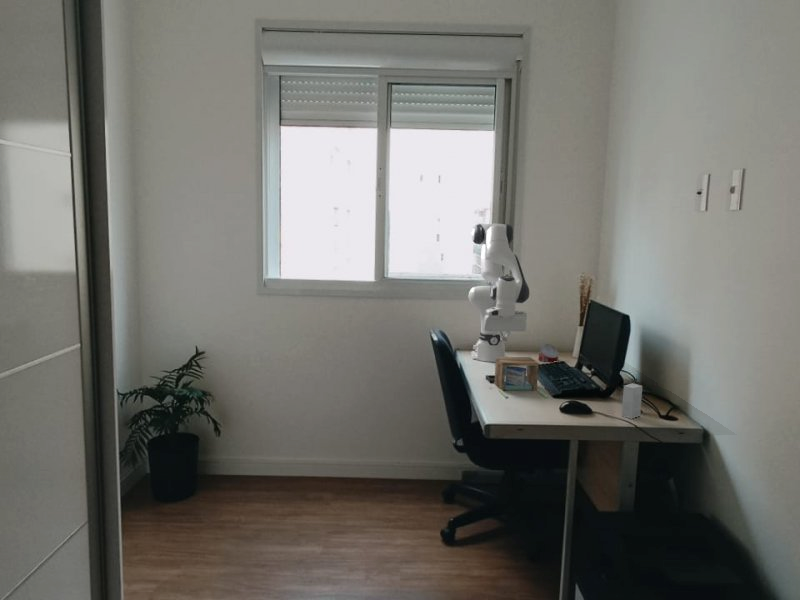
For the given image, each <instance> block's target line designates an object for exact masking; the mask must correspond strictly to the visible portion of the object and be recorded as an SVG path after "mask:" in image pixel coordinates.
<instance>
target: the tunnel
mask: <svg viewBox="0 0 800 600" xmlns="http://www.w3.org/2000/svg"><path fill="white" fill-rule="evenodd" d="M505 366H515V367H523V366H525V367H526V368H527V369H526V376H527V379H526V381H527V382H528V383H529V384H530V385H532V390H533V391H537V389H538V378H539V377H538V376H539V362H538V361H537V360H535V359H534V358H532V357H531V356H529V357H527V356H526V357H525V356H522V357H521V356H510V357H509V356H506V357H496V362H495V369H494V375H495V383H493V384H494V386H496V387H497V388H498V389H501V390H502V391H503V392H505V389H504V381H505V380H504V379H505ZM537 392H538V391H537Z"/></svg>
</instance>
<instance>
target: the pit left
mask: <svg viewBox="0 0 800 600" xmlns="http://www.w3.org/2000/svg"><path fill="white" fill-rule="evenodd" d="M485 380H486V381H487V380H488V381H489V382H490V383H491V384H492V383H493V384H494V383H495V374H493V375H492V374H491V375H490V374H489V375H488V374H487V375H485ZM488 381H487V382H488ZM489 382H488V383H489ZM490 383H489V384H490Z"/></svg>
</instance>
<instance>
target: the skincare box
mask: <svg viewBox="0 0 800 600" xmlns="http://www.w3.org/2000/svg"><path fill="white" fill-rule="evenodd" d="M642 395H643V385H641V384H638V383H637V384H636V383H629V384H625V385H623V393H622V405H621V406H622V407H621V417H622V416H625V417H628V418H634V419H636V418H635V417H637V418H639V417H638V416H640V417H641V413H642V412H641V408H642V398H643V396H642ZM625 417H624V418H625ZM628 418H627V419H628Z"/></svg>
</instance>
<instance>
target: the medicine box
mask: <svg viewBox="0 0 800 600" xmlns="http://www.w3.org/2000/svg"><path fill="white" fill-rule="evenodd" d="M526 376H527V367H522V366H508V367H507V368H506V383H505V385H520V386H523V385H525V384H526Z"/></svg>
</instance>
